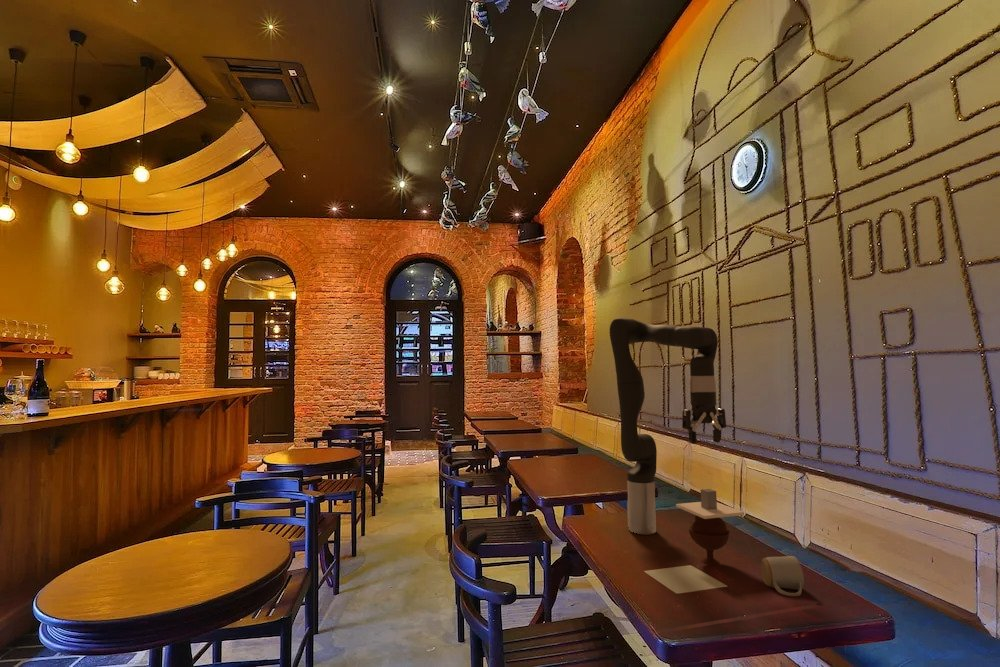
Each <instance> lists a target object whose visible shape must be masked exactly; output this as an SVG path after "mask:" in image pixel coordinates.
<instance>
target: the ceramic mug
mask: <svg viewBox="0 0 1000 667" xmlns="http://www.w3.org/2000/svg"><path fill="white" fill-rule="evenodd" d="M760 560H761V561H760V564H759V565H760V573H761V576H762V577H761V578H762V580H763V582H764V584H765V585H766V586H767V587H769V588H774V589H775V590H776V591H777V592H778V593H779V594H781V595H784V596H788V597H799V596H801V595H802V591H803V589H804V586H805V579H804V572H803V569H802V566H801V564H800V561H799V560H798V558H797V557H796V556H794V555H787V556H767V557H763V558H762V559H760ZM783 589H789V590H797V592H787V591H785V590H783Z"/></svg>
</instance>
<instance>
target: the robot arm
mask: <svg viewBox="0 0 1000 667" xmlns="http://www.w3.org/2000/svg"><path fill="white" fill-rule="evenodd" d="M609 338H610V343H611V344H610V345H611V348H612V349H611V350H612V353H613V354H612V355H613V358H614V366H615V373H616V385H617V395H618V401H619V413H620V415H619V416H620V446H621V452H622V455H623V457H624V459H625V460H626V461H628V462H631V463H633V462H634V463H635V462H636V463H635V464H634V466H632V468H631V469H629V470H628V471H627V474H626V477H627V478H626V479H627V480H626V482H627V484H626V485H627V501H626V506H627V507H626V508H627V512H626V513H627V528H628V527H629V528H628V531H629V530H630V532H631V533H633V532H634V533H633V534H636V533H637V534H638V535H653V534H655V533H657V523H656V522H657V520H656V519H657V518H656V492H655V491H656V489H655V487H656V486H655V477H656V473H657V456H658V454H657V453H658V452H657V444H656V441H655V439H654V438H653V437H652V435H650V434H648V433H638V418H639V415H640V413H641V412H640V411H641V410H642V407H643V404H644V402H645V394H646V393H645V386H644V385H645V384H644V379H643V376H642V373H641V371H640V369H639V368H638V366H637V365H636V363H635V362H634V361H635V360H634V359H633V357H632V355H631V351H630V350H631V349H630V344H637V343H655V344H659V345H663V346H670V347H680V348H681V347H682V348H685V349H691V350H697V353H696V355H695V357H692V358H691V359H690V362H689V371H690V374H689V375H690V379H689V393H690V395H689V396H690V405H691V409H683V410H682V417H681V418H682V421H681V423H682V425H681V426H682V429H683V430H687V431H688V441H689V443H690V444H695V445H696V444H697V431H696V430H697V428H698V427H699V426H700V425H701V424H709V425H710V426H711V428H712V440H713V442H715V443H720V442H721V440H722V435H721V434H722V433H721V432H722V429H726V427H727V420H726V410H725V408H719V407H718V408H716V406H717V388H716V385H717V383H716V378H715V359H716V356H717V350H718V345H719V344H718V342H719V339H718V336H717V333H716V331H715V330H714V329H712V328H710V327H702V326H700V327H699V326H683V325H677V324H676V325H674V324H649V323H646V322H643V321H639V320H637V319H634V318H625V317H618V318H617V317H616V318H614V319H613V320H612V321H611V322H610V326H609Z"/></svg>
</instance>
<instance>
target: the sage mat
mask: <svg viewBox="0 0 1000 667" xmlns="http://www.w3.org/2000/svg"><path fill="white" fill-rule="evenodd" d="M643 572H644V573H646V574H647V575H648V576H650V577H652V578H653V579H655V580H656V581H657V582H659V583H660V584H662V585H663V586H665V587H666V588H667V589H668V590H670V591H672V592H673V593H675V594H677V595H678V594H685V593H692V592H693V593H694V592H699V591H704V590H705V591H706V590H712V589H713V590H714V589H720V588H725V587H728V585H726V584H725V583H723V582H721V581H720V580H718V579H716V578H714V577H712V576H711V575H709V574H707V573H705V572H703V571H702V570H700V569H698V568H697V567H695V566H693V565H691V564H690V565H688V564H687V565H681V566H674V567H667V568H666V567H665V568H658V569H652V570H651V569H648V570H643Z"/></svg>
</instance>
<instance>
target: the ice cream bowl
mask: <svg viewBox="0 0 1000 667" xmlns="http://www.w3.org/2000/svg"><path fill="white" fill-rule="evenodd" d="M688 532H689V535H690V537H691V539H692V541H693V542H695V544H697V545H698V546H699V547H700V548H702V549H704V550H705V551H706V557H704V558H702V559H701V560H700V562H701V563H703V564H705V565H707V566H719V565H720V561H718V560H717V559H716V558H714V552H715V551H717V550H720V549H722V548H723V547H724V546H725V545H726V544H727V543H728V541H729V536H730V530H728V528H727V523H725V521H724V520H723V518H722V517H719V518H709V519H704V518H701V517H699V516H697V515H694V522H693V523H692V525H691V526H689V529H688Z"/></svg>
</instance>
